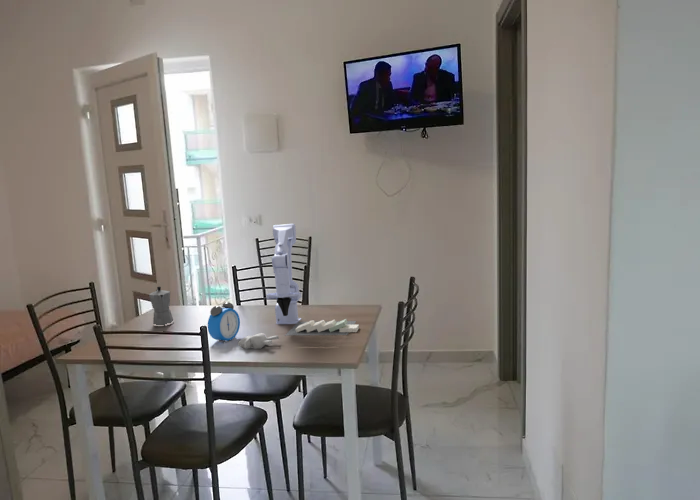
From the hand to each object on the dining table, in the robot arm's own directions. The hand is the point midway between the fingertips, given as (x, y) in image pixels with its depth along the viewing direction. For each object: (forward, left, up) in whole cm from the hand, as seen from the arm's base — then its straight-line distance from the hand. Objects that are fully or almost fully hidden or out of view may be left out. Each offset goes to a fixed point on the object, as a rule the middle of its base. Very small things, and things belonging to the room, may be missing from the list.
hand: (285, 315), depth 227 cm
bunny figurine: (-5, -19, -8) cm, 21 cm away
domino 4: (+19, 0, -6) cm, 20 cm away
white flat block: (+23, 0, -6) cm, 24 cm away
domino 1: (+5, 0, -6) cm, 8 cm away
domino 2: (+9, 0, -6) cm, 11 cm away
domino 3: (+14, 0, -6) cm, 15 cm away
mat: (+14, +3, -7) cm, 16 cm away
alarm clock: (-23, -10, -7) cm, 26 cm away
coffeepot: (-65, +14, -7) cm, 67 cm away
